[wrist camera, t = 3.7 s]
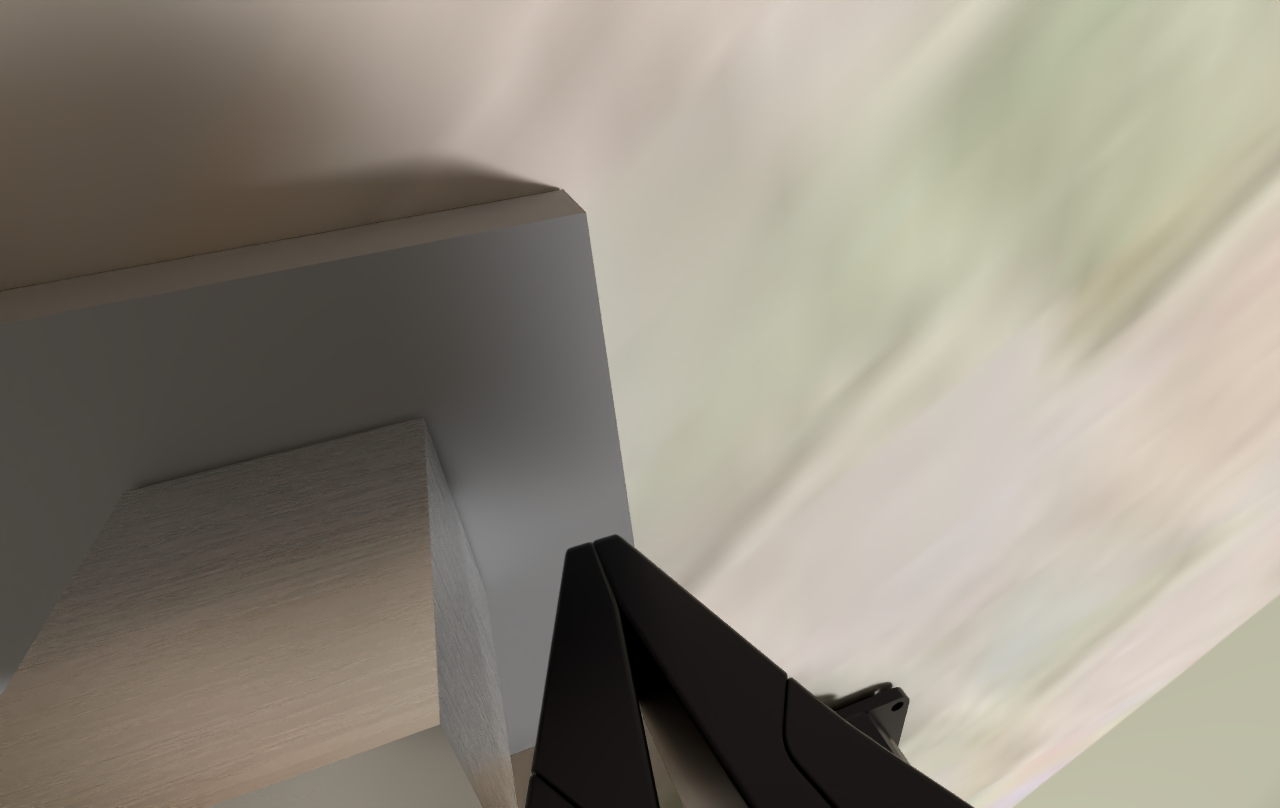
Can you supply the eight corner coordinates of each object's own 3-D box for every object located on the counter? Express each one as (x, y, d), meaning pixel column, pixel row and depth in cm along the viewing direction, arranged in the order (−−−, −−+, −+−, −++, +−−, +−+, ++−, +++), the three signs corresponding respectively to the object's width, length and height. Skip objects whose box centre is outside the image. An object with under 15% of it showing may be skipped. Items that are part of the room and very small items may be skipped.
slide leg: (519, 686, 13) (571, 984, 9) (320, 757, 12) (279, 1120, 8) (423, 417, 9) (440, 724, 5) (122, 492, 8) (-140, 930, 4)
